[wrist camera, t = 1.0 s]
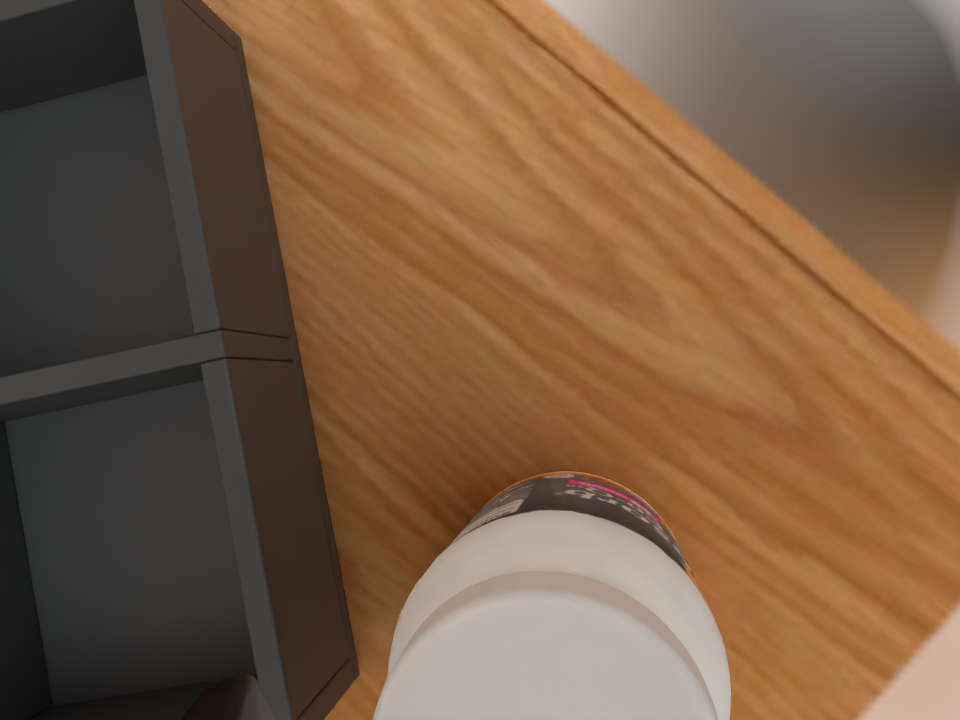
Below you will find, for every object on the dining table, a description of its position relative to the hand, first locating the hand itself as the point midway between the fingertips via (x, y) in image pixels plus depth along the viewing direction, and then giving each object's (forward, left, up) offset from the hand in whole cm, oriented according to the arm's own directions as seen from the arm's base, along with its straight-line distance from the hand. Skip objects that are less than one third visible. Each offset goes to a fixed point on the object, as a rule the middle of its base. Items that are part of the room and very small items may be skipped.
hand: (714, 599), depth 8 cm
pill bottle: (-3, +2, -12) cm, 13 cm away
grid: (+4, +16, -12) cm, 21 cm away
